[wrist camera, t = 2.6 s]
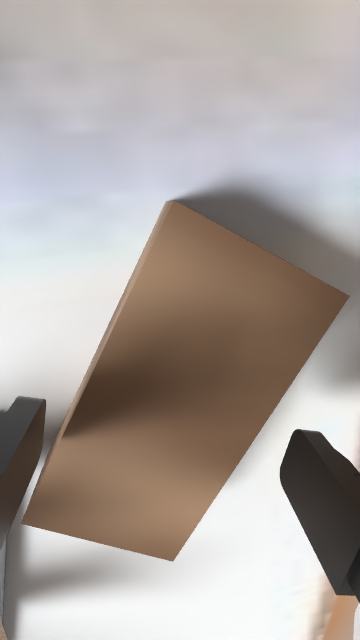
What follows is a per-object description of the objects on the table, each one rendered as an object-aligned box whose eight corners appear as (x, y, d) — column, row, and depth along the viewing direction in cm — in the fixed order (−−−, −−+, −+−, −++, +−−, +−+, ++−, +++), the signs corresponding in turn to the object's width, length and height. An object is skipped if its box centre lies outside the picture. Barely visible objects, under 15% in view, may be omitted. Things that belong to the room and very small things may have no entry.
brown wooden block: (165, 201, 12) (173, 199, 8) (298, 273, 13) (349, 295, 10) (48, 453, 15) (21, 523, 11) (167, 489, 16) (172, 561, 13)
